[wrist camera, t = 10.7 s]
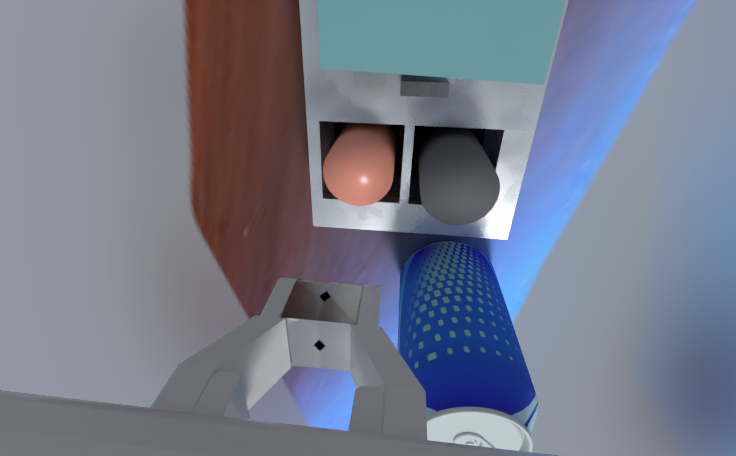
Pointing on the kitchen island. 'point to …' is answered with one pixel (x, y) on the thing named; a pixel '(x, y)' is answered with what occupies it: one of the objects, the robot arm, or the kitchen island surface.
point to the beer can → (464, 349)
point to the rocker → (441, 37)
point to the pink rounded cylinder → (361, 163)
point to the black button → (456, 177)
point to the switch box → (413, 108)
